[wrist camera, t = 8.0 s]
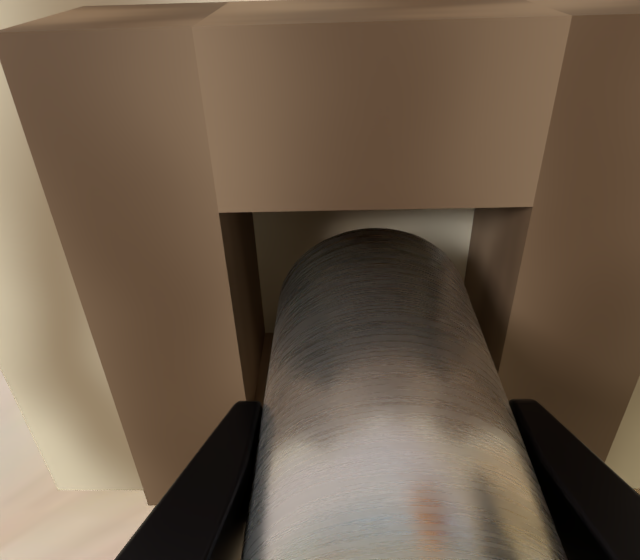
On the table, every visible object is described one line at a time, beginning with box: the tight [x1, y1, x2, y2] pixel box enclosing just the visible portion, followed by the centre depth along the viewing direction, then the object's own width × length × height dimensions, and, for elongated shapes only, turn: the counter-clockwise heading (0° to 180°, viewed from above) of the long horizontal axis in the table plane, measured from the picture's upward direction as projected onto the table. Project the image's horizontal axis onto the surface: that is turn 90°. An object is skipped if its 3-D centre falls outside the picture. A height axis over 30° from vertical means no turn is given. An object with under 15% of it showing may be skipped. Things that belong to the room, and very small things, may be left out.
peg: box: [241, 228, 568, 560], centre depth 7 cm, size 4×4×10 cm
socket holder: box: [0, 0, 640, 505], centre depth 13 cm, size 22×20×4 cm
